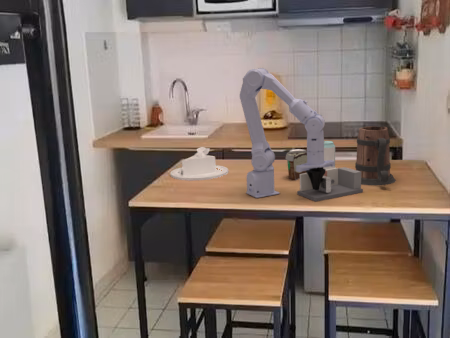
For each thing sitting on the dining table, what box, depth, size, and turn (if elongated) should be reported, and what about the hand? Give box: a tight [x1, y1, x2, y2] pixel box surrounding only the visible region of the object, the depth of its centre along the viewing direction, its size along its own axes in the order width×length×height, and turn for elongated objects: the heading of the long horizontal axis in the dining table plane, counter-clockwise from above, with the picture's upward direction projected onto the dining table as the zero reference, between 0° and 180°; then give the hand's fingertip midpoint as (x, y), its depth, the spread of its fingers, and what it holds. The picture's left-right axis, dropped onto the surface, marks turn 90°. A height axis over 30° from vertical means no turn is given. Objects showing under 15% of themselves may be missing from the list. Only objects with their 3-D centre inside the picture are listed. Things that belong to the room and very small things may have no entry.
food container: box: [285, 150, 307, 181], centre depth 203 cm, size 12×6×10 cm, turn 141°
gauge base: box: [296, 166, 364, 202], centre depth 178 cm, size 20×11×7 cm, turn 116°
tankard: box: [354, 125, 397, 187], centre depth 189 cm, size 24×17×20 cm
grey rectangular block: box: [319, 176, 334, 193], centre depth 177 cm, size 6×7×5 cm
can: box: [323, 140, 336, 170], centre depth 211 cm, size 7×7×12 cm
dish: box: [170, 146, 229, 182], centre depth 217 cm, size 25×25×11 cm
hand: (315, 189), depth 176 cm, fingers closed
